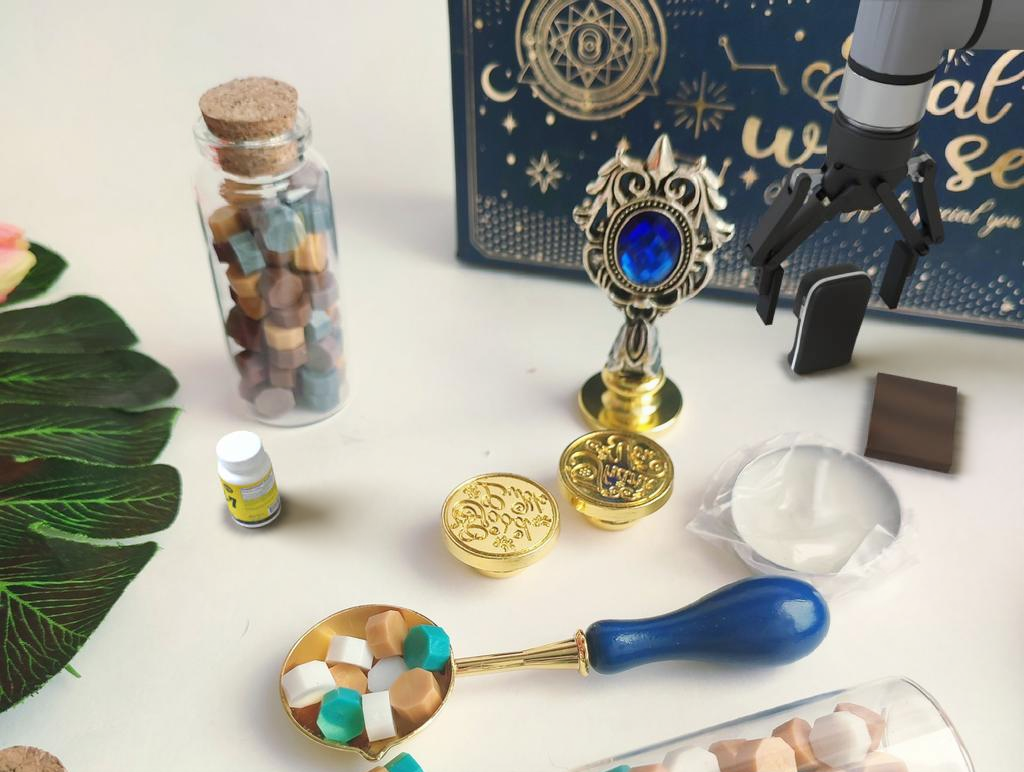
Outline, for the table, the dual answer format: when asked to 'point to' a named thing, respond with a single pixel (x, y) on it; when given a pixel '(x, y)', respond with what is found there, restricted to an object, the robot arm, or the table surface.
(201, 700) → the table surface
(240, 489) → the supplement bottle
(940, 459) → the walnut board
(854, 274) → the battery charger
